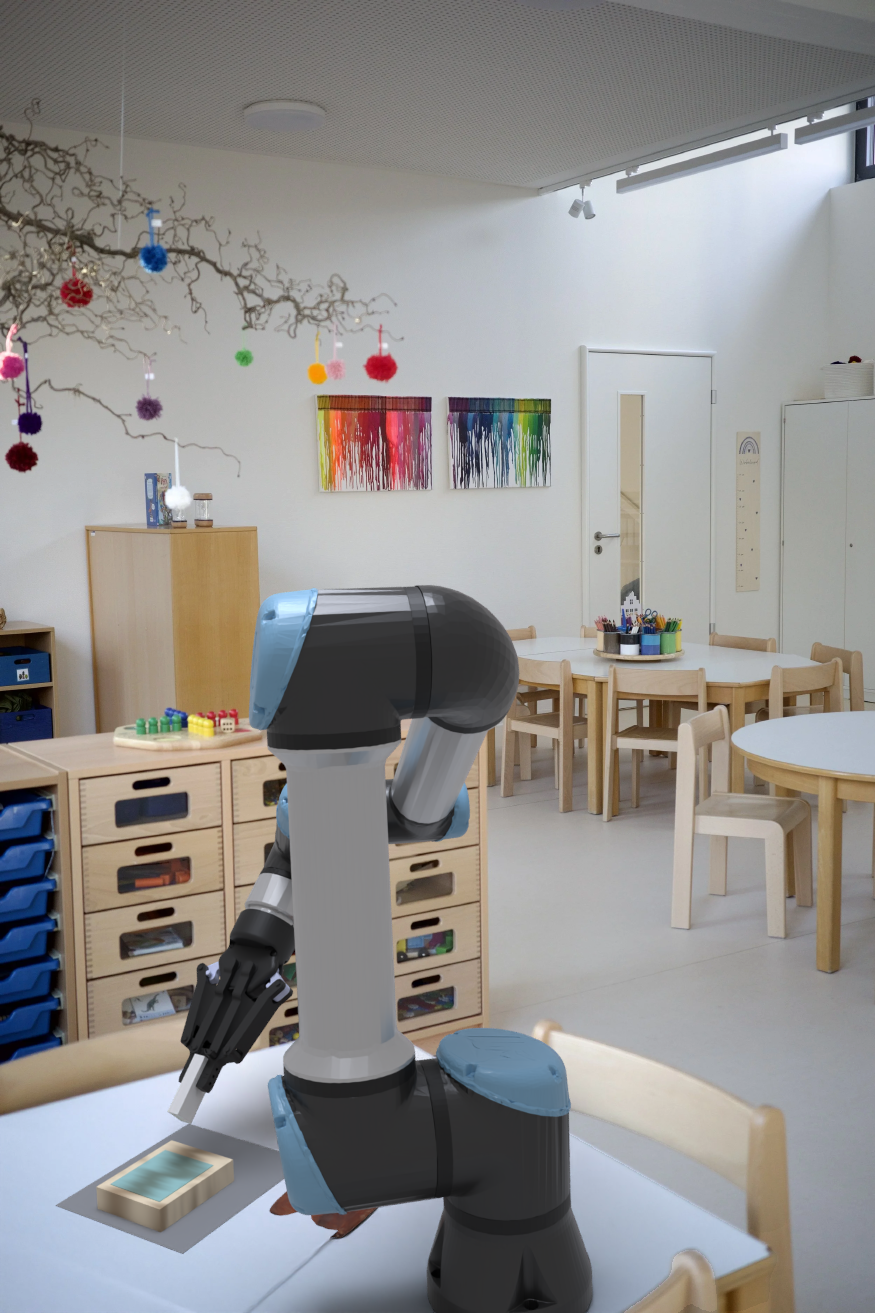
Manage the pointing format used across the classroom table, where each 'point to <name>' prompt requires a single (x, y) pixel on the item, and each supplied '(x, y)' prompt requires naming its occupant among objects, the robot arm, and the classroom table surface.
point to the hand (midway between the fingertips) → (179, 1117)
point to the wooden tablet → (324, 1217)
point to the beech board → (165, 1185)
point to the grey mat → (251, 1180)
